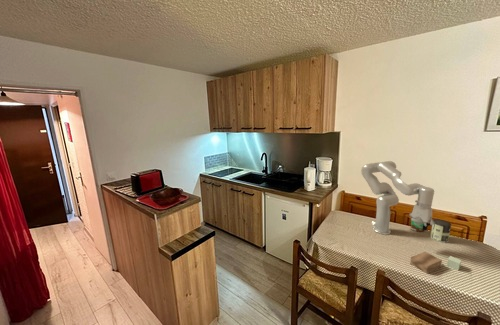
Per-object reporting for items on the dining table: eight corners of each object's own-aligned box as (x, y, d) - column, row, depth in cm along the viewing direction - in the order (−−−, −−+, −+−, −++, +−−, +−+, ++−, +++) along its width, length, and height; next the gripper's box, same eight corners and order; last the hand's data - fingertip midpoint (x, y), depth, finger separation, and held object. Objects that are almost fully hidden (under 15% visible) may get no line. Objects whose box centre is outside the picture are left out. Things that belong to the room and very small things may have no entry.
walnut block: (410, 263, 126) (411, 257, 125) (424, 258, 131) (425, 251, 130) (426, 273, 118) (427, 266, 117) (440, 267, 122) (441, 260, 121)
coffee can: (446, 237, 152) (449, 221, 149) (449, 244, 144) (452, 227, 141) (429, 233, 158) (431, 217, 155) (430, 239, 150) (433, 223, 147)
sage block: (446, 265, 123) (448, 259, 122) (448, 262, 126) (450, 255, 125) (458, 270, 119) (459, 263, 118) (459, 267, 122) (461, 260, 121)
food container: (418, 234, 132) (421, 221, 130) (409, 230, 138) (411, 217, 136) (431, 231, 135) (433, 218, 133) (421, 226, 141) (423, 214, 139)
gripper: (406, 200, 139) (403, 223, 143) (435, 211, 124) (430, 236, 128) (413, 199, 142) (409, 221, 146) (442, 209, 126) (437, 233, 130)
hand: (419, 227), depth 137 cm, fingers closed on food container, 5 cm apart
